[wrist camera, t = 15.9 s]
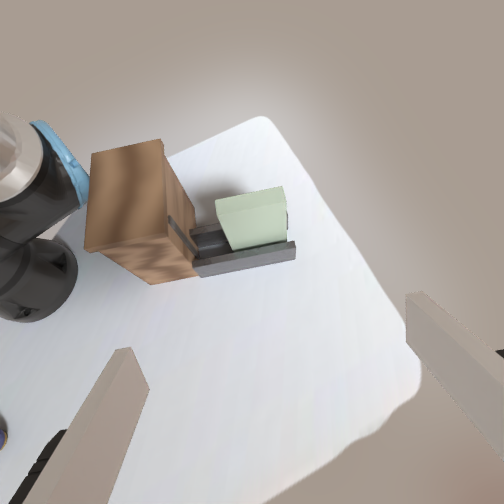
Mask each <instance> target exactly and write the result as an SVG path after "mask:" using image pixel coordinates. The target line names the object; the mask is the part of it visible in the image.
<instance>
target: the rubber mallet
mask: <svg viewBox="0 0 504 504" xmlns="http://www.w3.org/2000/svg"><path fill="white" fill-rule="evenodd" d="M6 441H7V434H6V433H5V432H4V431H3V430H1V429H0V450H2V449H3V447H4V446H5V444H6Z"/></svg>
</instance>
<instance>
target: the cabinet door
mask: <svg viewBox="0 0 504 504" xmlns="http://www.w3.org/2000/svg"><path fill="white" fill-rule="evenodd" d="M215 206H216V213H217V217H218V219H219V222H220V224H221V226H222V228H223V230H224V233H225V235H226V237H227V239H228V241H229V244H230V246H231V248H232V250H233V252H234V253H235V252H240V251H245V250H250V249H255V248H260V247H265V246H270V245H275V244H280V243H285V242H287V212H286V198H285V194H284V190H283V186H280V187H275V188H270V189H265V190H260V191H256V192H251V193H246V194H241V195H236V196H232V197H227V198H222V199H217V200H215Z"/></svg>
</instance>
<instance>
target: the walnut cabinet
mask: <svg viewBox="0 0 504 504" xmlns="http://www.w3.org/2000/svg"><path fill="white" fill-rule="evenodd" d="M194 228H196V220H195V210H194V206H193V205H192V203H191V201H190V199H189V198H188V196H187V194H186V192H185V190H184V189H183V187H182V185H181V183H180V182H179V180H178V178H177V176H176V175H175V173H174V171H173V169H172V168H171V166H170V164H169V162H168V160H167V159H166V157H165V155H164V145H163V142H162V141H161V139H156V140H152V141H147V142H142V143H138V144H133V145H128V146H124V147H120V148H115V149H111V150H106V151H102V152H97V153H92V156H91V168H90V180H89V192H88V204H87V216H86V229H85V241H84V250H86V251H88V252H89V253H93V252H97V251H99V252H100V253H102V254H103V255H105V256H107V257H108V258H110V259H111V260H113V261H114V262H116V263H117V264H119V265H120V266H122V267H123V268H125V269H127V270H128V271H130V272H131V273H133V274H134V275H136V276H137V277H139V278H140V279H142V280H144V281H145V282H147V283H148V284H150V285H155V284H160V283H165V282H170V281H175V280H180V279H185V278H190V277H195V276H199V275H198V274H197V273H196V272H195V271H194V270H193V268H192V261H195V260H199V251H198V247H197V246H196V244H195V243H194V241H193V240H192V239H191V237H190V236H189V229H194Z"/></svg>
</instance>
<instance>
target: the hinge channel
mask: <svg viewBox="0 0 504 504" xmlns="http://www.w3.org/2000/svg"><path fill="white" fill-rule="evenodd" d="M286 212H287V210H286ZM287 230H288V214H287ZM189 236H190V237H191V239H192V240H193V241H194V243H195V244H196V246H197V247H198V248H201V247H206V246H210V245H215V244H220V243H225V242H229V241H228V239H227V237H226V235H225V233H224V230H223V228H222V226H221V224H220V223H218V224H213V225H208V226H203V227H199V228H194V229H189ZM295 255H296V246H295V242H294V241H290V242H285V243H280V244H275V245H270V246H265V247H260V248H255V249H250V250H245V251H240V252H235V253H230V254H225V255H220V256H215V257H210V258H205V259H200V260H195V261H192V268H193V270H194V271H195V272H196V273H197V274H198V275H199V276H200V277H201V278H204V277H209V276H214V275H219V274H224V273H229V272H234V271H239V270H244V269H249V268H254V267H259V266H264V265H269V264H274V263H279V262H284V261H289V260H294V259H295Z"/></svg>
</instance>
